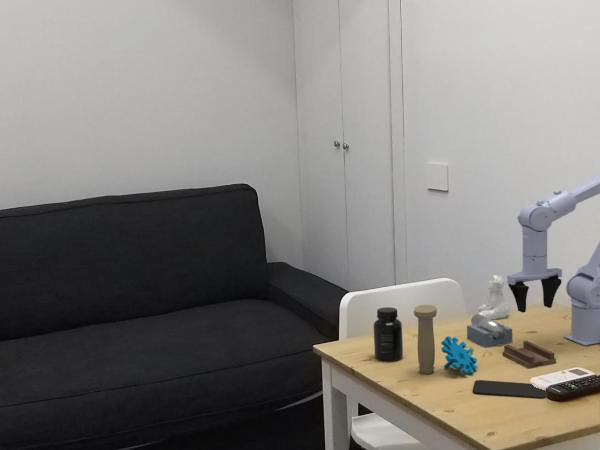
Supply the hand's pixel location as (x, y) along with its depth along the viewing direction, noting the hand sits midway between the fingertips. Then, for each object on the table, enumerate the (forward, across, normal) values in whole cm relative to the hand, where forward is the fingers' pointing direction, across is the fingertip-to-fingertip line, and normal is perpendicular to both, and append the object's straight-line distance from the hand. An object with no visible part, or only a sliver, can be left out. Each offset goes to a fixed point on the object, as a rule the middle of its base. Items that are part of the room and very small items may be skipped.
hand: (534, 309), depth 197 cm
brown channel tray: (+9, +7, +7) cm, 14 cm away
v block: (+9, +7, -9) cm, 15 cm away
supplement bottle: (+10, +35, -10) cm, 38 cm away
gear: (+10, +25, +6) cm, 27 cm away
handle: (+10, +32, +3) cm, 34 cm away
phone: (+10, +22, +21) cm, 32 cm away
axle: (+6, +7, -10) cm, 13 cm away
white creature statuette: (+10, -6, -26) cm, 29 cm away
